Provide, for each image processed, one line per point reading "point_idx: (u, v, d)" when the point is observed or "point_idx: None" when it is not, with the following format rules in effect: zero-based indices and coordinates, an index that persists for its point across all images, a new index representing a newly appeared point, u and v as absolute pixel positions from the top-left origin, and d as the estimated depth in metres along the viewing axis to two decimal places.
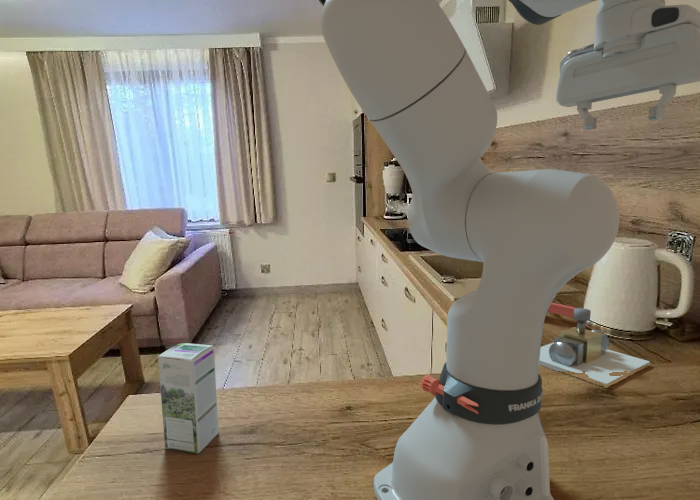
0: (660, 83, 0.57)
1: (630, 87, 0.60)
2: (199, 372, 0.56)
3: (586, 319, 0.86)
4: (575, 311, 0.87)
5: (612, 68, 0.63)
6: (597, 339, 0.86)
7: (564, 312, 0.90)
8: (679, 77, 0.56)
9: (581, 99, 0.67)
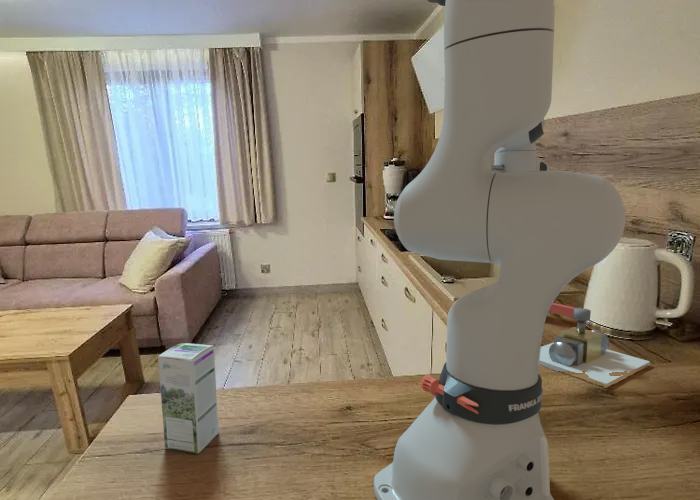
0: None
1: None
2: (199, 372, 0.56)
3: (586, 319, 0.86)
4: (575, 311, 0.87)
5: None
6: (597, 339, 0.86)
7: (564, 312, 0.90)
8: None
9: None
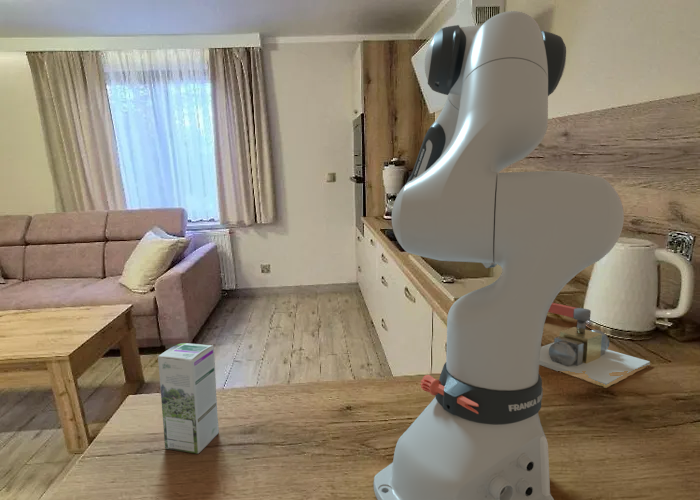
0: None
1: None
2: (199, 372, 0.56)
3: (586, 319, 0.86)
4: (575, 311, 0.87)
5: None
6: (597, 339, 0.86)
7: (564, 312, 0.90)
8: None
9: None
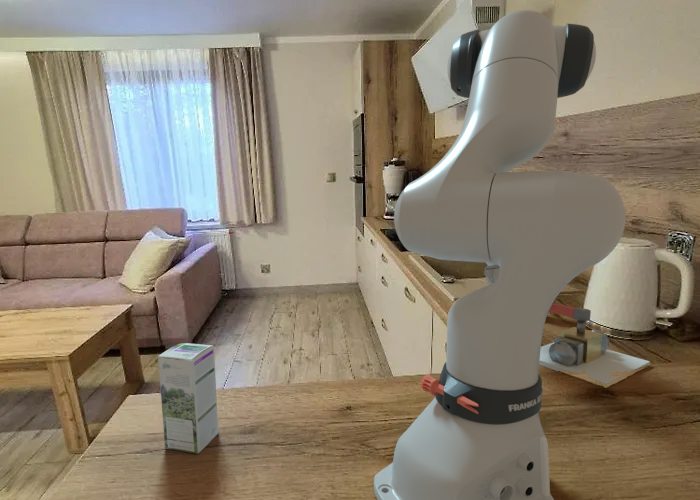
0: None
1: None
2: (199, 372, 0.56)
3: (586, 319, 0.86)
4: (575, 311, 0.87)
5: None
6: (597, 339, 0.86)
7: (564, 312, 0.90)
8: None
9: None
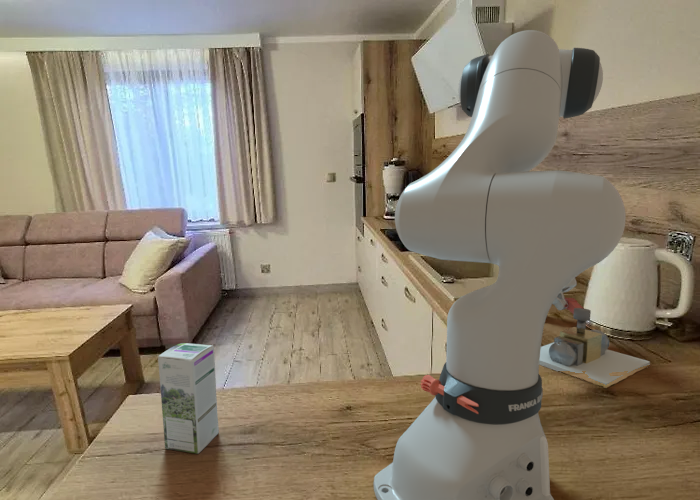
0: (568, 285, 0.99)
1: None
2: (199, 372, 0.56)
3: (579, 318, 0.86)
4: (574, 309, 0.89)
5: None
6: (597, 339, 0.86)
7: (573, 311, 0.91)
8: (573, 283, 1.00)
9: None
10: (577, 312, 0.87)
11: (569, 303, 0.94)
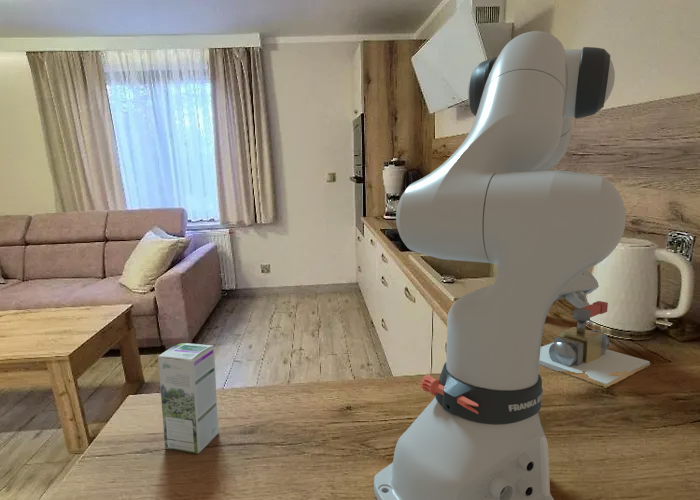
0: (590, 287, 0.97)
1: (582, 287, 0.95)
2: (199, 372, 0.56)
3: (575, 317, 0.87)
4: None
5: None
6: (597, 339, 0.86)
7: None
8: (595, 285, 0.98)
9: (565, 292, 0.91)
10: (574, 311, 0.88)
11: None
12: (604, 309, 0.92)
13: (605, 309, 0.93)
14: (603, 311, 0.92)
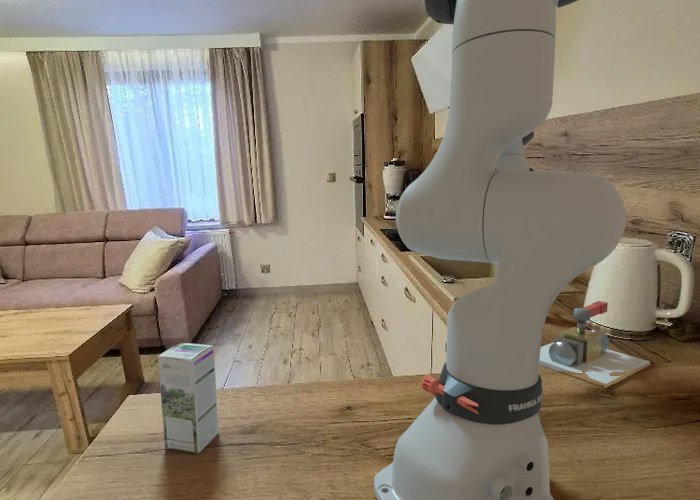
0: None
1: None
2: (199, 372, 0.56)
3: (575, 317, 0.87)
4: None
5: None
6: (597, 339, 0.86)
7: None
8: None
9: None
10: (574, 311, 0.88)
11: None
12: (604, 309, 0.92)
13: (605, 309, 0.93)
14: (603, 311, 0.92)
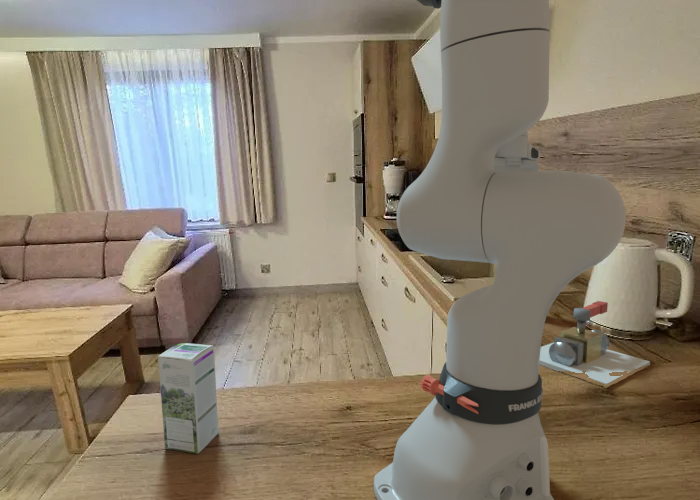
0: None
1: None
2: (199, 372, 0.56)
3: (575, 317, 0.87)
4: None
5: None
6: (597, 339, 0.86)
7: None
8: None
9: None
10: (574, 311, 0.88)
11: None
12: (604, 309, 0.92)
13: (605, 309, 0.93)
14: (603, 311, 0.92)
